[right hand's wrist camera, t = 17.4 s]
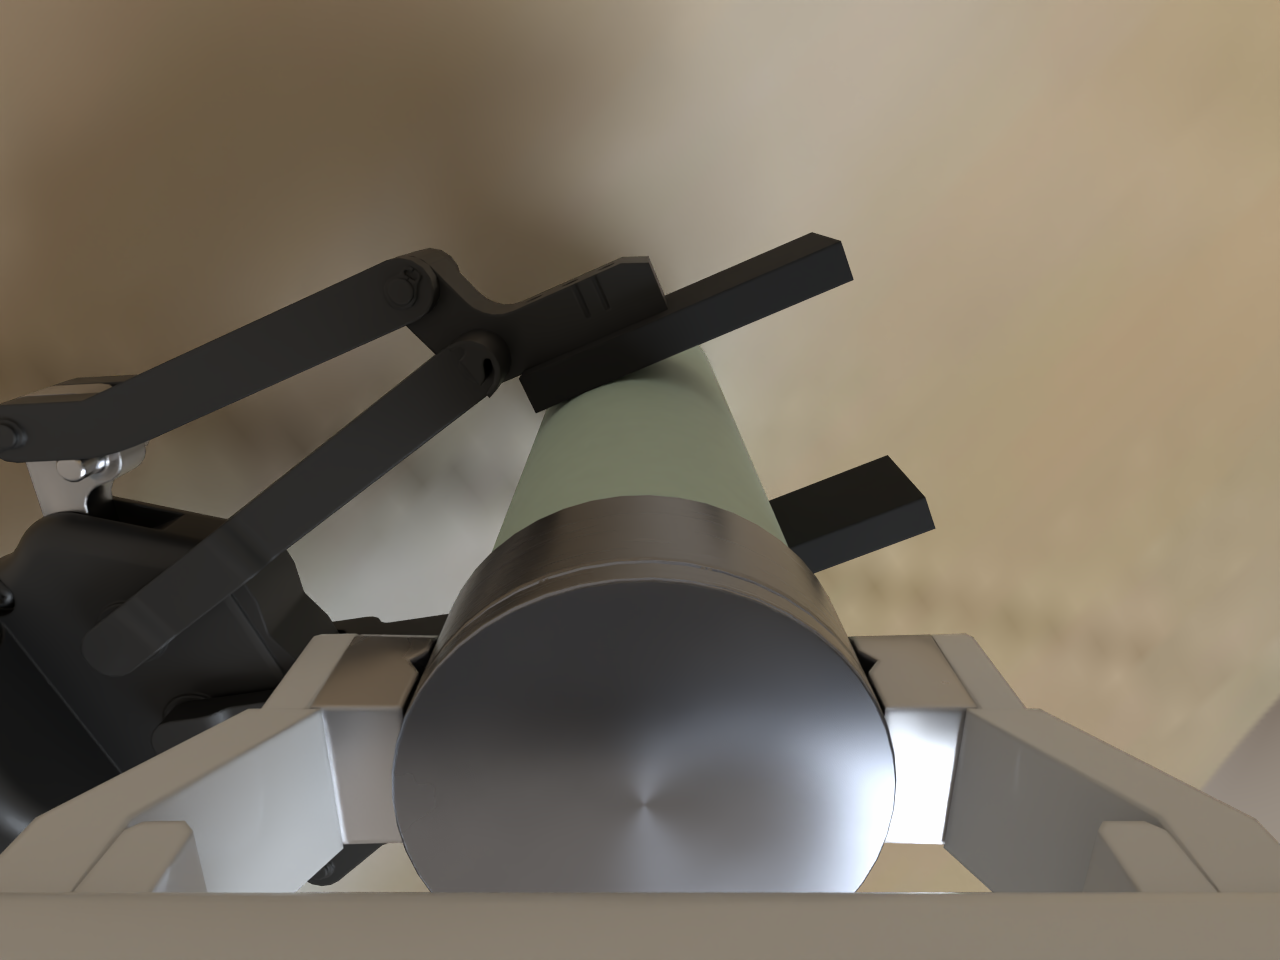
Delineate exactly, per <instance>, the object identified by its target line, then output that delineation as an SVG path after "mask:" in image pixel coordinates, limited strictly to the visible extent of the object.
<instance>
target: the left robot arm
mask: <svg viewBox="0 0 1280 960" xmlns="http://www.w3.org/2000/svg"><path fill="white" fill-rule="evenodd" d="M852 280H854V279H853V276H852V273H851V270H850V267H849V264H848V261H847V258H846V255H845V252H844V249H843V246H842V243H841V241H839V240H836V239H833V238H829V237H826V236H823V235H819V234H816V233H813V232H811V233H809V234H807V235H805V236H802V237H800V238H798V239H795V240H793V241H791V242H788V243H786V244H784V245H781V246H779V247H777V248H774V249H772V250H770V251H767V252H765V253H763V254H761V255H758V256H756V257H754V258H751V259H749V260H747V261H744V262H742V263H740V264H737V265H735V266H733V267H730V268H728V269H726V270H723V271H721V272H719V273H717V274H714V275H712V276H710V277H707V278H705V279H703V280H700V281H698V282H696V283H693V284H691V285H689V286H686V287H684V288H682V289H679V290H677V291H675V292H673V293H670V294H668V295H666V296H665V295H664V293H663V291H662V288H661V286H660V283H659V281H658V278H657V276H656V274H655V271H654V269H653V266H652V264H651V261H650V259H649V256H645V257H622V258H619V259H617V260H615V261H612V262H610V263H608V264H606V265H603V266H601V267H599V268H597V269H594V270H592V271H590V272H588V273H585V274H583V275H581V276H579V277H576V278H574V279H572V280H570V281H567V282H565V283H563V284H560V285H558V286H556V287H554V288H551V289H549V290H547V291H545V292H542V293H540V294H538V295H536V296H533V297H531V298H529V299H527V300H524V301H522V302H519V303H515V304H500V303H495V302H493V301H491V300H489V299H487V298H485V297H484V296H483V295H482V294H480V293H479V292H478V291H477V290H476V289H475V288H474V287H473V286H472V285H471V284H470V283H469V282H468V281H467V280H466V279H465V278H464V277H463V276H462V275H461V274H460V272H459V268H458V265H457V264H456V263H455V261H454V260H453V259H452V257H451V256H450V255H448V254H446V253H445V252H443V251H442V250H438V249H433V248H428V249H424V250H419V251H415V252H412V253H409V254H405V255H402V256H399V257H396V258H393V259H390V260H386V261H384V262H382V263H380V264H378V265H376V266H373V267H371V268H369V269H367V270H365V271H363V272H360V273H358V274H356V275H354V276H352V277H350V278H347V279H345V280H343V281H341V282H339V283H336V284H334V285H332V286H330V287H328V288H326V289H323V290H321V291H319V292H317V293H315V294H313V295H310V296H308V297H306V298H304V299H302V300H300V301H297V302H295V303H293V304H291V305H289V306H287V307H284V308H282V309H280V310H278V311H276V312H274V313H271V314H269V315H267V316H265V317H263V318H261V319H258V320H256V321H254V322H252V323H250V324H248V325H245V326H243V327H241V328H239V329H237V330H235V331H232V332H230V333H228V334H226V335H224V336H221V337H219V338H217V339H215V340H213V341H211V342H208V343H206V344H204V345H202V346H200V347H198V348H195V349H193V350H191V351H189V352H187V353H185V354H182V355H180V356H178V357H176V358H174V359H172V360H169V361H167V362H165V363H163V364H161V365H159V366H156V367H154V368H152V369H150V370H148V371H146V372H143V373H141V374H139V375H123V376H104V377H85V378H76V379H72V380H68V381H65V382H62V383H59V384H57V385H54V386H51V387H47V388H44V389H41V390H38V391H36V392H33V393H30V394H27V395H24V396H21V397H18V398H16V399H13V400H10V401H7V402H4V403H1V404H0V459H2V460H4V461H8V462H16V463H22V462H26V465H27V468H28V471H29V474H30V477H31V480H32V483H33V486H34V489H35V492H36V495H37V498H38V501H39V504H40V507H41V510H42V513H43V516H44V517H43V518H41V519H39V520H38V521H36V522H35V523H34V524H33V525H31V526H30V527H29V528H28V530H27V531H26V532H25V533H24V535H23V537H22V538H21V540H20V542H19V544H18V546H17V548H16V549H15V551H14V552H13V553H11V554H8V555H6V556H4V557H2V558H0V854H1V853H2V852H3V851H4V850H5V849H6V848H7V847H8V846H9V845H10V844H11V843H12V842H13V841H14V840H15V839H16V838H17V837H18V835H19V834H20V833H21V832H22V831H23V830H24V829H25V828H26V827H27V826H28V825H29V824H30V823H31V822H32V821H33V820H34V819H35V818H36V817H38V816H40V815H42V814H44V813H46V812H48V811H49V810H51V809H53V808H55V807H57V806H59V805H61V804H63V803H65V802H67V801H69V800H71V799H73V798H75V797H77V796H79V795H81V794H83V793H85V792H87V791H89V790H90V789H92V788H94V787H96V786H98V785H100V784H102V783H104V782H106V781H108V780H110V779H112V778H114V777H116V776H118V775H120V774H122V773H124V772H126V771H128V770H130V769H131V768H133V767H135V766H137V765H139V764H141V763H143V762H145V761H147V760H149V759H151V758H153V757H155V756H157V755H159V754H161V753H163V752H165V751H167V750H169V749H171V748H172V747H174V746H176V745H178V744H180V743H182V742H184V741H186V740H188V739H190V738H192V737H194V736H196V735H198V734H200V733H202V732H204V731H206V730H208V729H210V728H212V727H214V726H215V725H217V724H219V723H221V722H223V721H225V720H227V719H229V718H231V717H233V716H235V715H237V714H239V713H241V712H243V711H245V710H247V709H261V708H262V706H263V705H264V704H265V702H266V701H267V700H268V698H269V697H270V696H271V694H272V693H273V691H274V690H275V689H276V687H277V686H278V685H279V683H280V682H281V680H282V679H283V678H284V676H285V675H286V674H287V672H288V671H289V669H290V668H291V667H292V665H293V664H294V663H295V661H296V660H297V658H298V657H299V656H300V654H301V653H302V652H303V650H304V649H305V647H306V646H307V645H308V643H309V642H310V641H311V639H312V638H313V637H314V636H317V635H321V634H358V635H361V634H372V635H424V636H440V633H441V631H442V629H443V626H444V624H445V622H446V619H447V617H448V615H449V614H445V615H438V616H431V617H424V618H417V619H411V620H404V621H397V622H390V623H384V622H381V621H380V619H379V618H377V617H362V618H356V619H349V620H342V621H335V622H332V621H331V619H330V618H329V616H328V615H327V614H326V613H325V612H324V611H323V610H322V609H321V608H320V607H319V606H318V605H317V604H316V603H315V602H314V601H313V600H312V599H311V598H309V597H308V596H307V595H306V594H305V592H304V590H303V588H302V584H301V581H300V578H299V575H298V572H297V569H296V566H295V563H294V561H293V559H292V558H291V556H290V555H289V553H288V551H287V550H286V549H288V548H289V547H290V546H292V545H293V544H294V543H295V542H297V541H298V540H299V539H301V538H302V537H303V536H305V535H306V534H307V533H308V532H310V531H311V530H312V529H314V528H315V527H316V526H318V525H319V524H320V523H322V522H323V521H324V520H325V519H327V518H328V517H329V516H331V515H332V514H333V513H335V512H336V511H337V510H338V509H340V508H341V507H342V506H344V505H345V504H346V503H348V502H349V501H350V500H352V499H353V498H354V497H355V496H357V495H358V494H359V493H361V492H362V491H363V490H365V489H366V488H367V487H368V486H370V485H371V484H372V483H374V482H375V481H376V480H378V479H379V478H380V477H382V476H383V475H384V474H385V473H387V472H388V471H389V470H391V469H392V468H393V467H395V466H396V465H397V464H398V463H400V462H401V461H402V460H404V459H405V458H406V457H408V456H409V455H410V454H412V453H413V452H414V451H415V450H417V449H418V448H419V447H421V446H422V445H423V444H425V443H426V442H427V441H428V440H430V439H431V438H432V437H434V436H435V435H436V434H438V433H439V432H440V431H442V430H443V429H444V428H445V427H447V426H448V425H449V424H451V423H452V422H453V421H455V420H456V419H457V418H458V417H460V416H461V415H462V414H464V413H465V412H466V411H468V410H469V409H470V408H472V407H473V406H474V405H475V404H477V403H478V402H479V401H481V400H482V399H483V398H485V397H486V396H488V397H489V398H490V397H491V396H492V395H493V393H494V392H495V391H496V390H497V389H498V387H499V386H500V384H501V383H503V382H505V381H507V380H510V379H512V378H514V377H517V376H519V375H521V374H522V375H521V376H520V378H519V380H520V382H521V384H522V386H523V388H524V390H525V392H526V394H527V396H528V398H529V400H530V402H531V404H532V406H533V408H534V410H535V412H536V413H538V412H540V411H543V410H545V409H547V408H550V407H552V406H554V405H557V404H559V403H562V402H564V401H566V400H569V399H571V398H573V397H576V396H578V395H581V394H583V393H585V392H588V391H590V390H593V389H595V388H597V387H600V386H602V385H604V384H607V383H609V382H612V381H614V380H616V379H619V378H621V377H623V376H626V375H628V374H631V373H633V372H635V371H638V370H640V369H643V368H645V367H647V366H650V365H652V364H654V363H657V362H659V361H662V360H664V359H666V358H669V357H671V356H673V355H676V354H678V353H681V352H683V351H685V350H688V349H690V348H692V347H695V346H697V345H700V344H702V343H704V342H707V341H709V340H712V339H714V338H716V337H719V336H721V335H723V334H726V333H728V332H731V331H733V330H735V329H738V328H740V327H742V326H745V325H747V324H750V323H752V322H754V321H757V320H759V319H762V318H764V317H766V316H769V315H771V314H773V313H776V312H778V311H781V310H783V309H785V308H788V307H790V306H792V305H795V304H797V303H800V302H802V301H804V300H807V299H809V298H812V297H814V296H816V295H819V294H821V293H823V292H826V291H828V290H831V289H833V288H835V287H838V286H840V285H842V284H845V283H847V282H850V281H852ZM404 326H407V327H408V328H409V329H410V330H411V331H412V332H413V333H414V334H415V335H416V336H417V337H418V338H419V339H420V340H421V341H422V342H423V343H424V344H425V345H426V346H427V347H428V348H429V349H430V350H431V351H433V352H434V353H435V355H434V356H433V357H432V358H430V359H429V360H428V361H427V362H425V363H424V364H423V365H422V366H420V367H419V368H418V369H417V370H415V371H414V372H413V373H412V374H410V375H409V376H408V377H407V378H405V379H404V380H403V381H401V382H400V383H399V384H398V385H396V386H395V387H394V388H393V389H391V390H390V391H389V392H388V393H386V394H385V395H384V396H383V397H381V398H380V399H379V400H378V401H376V402H375V403H374V404H373V405H371V406H370V407H369V408H367V409H366V410H365V411H364V412H362V413H361V414H360V415H359V416H357V417H356V418H355V419H354V420H352V421H351V422H350V423H349V424H347V425H346V426H345V427H344V428H342V429H341V430H340V431H339V432H337V433H336V434H335V435H333V436H332V437H331V438H330V439H328V440H327V441H326V442H325V443H323V444H322V445H321V446H320V447H318V448H317V449H316V450H315V451H313V452H312V453H311V454H310V455H308V456H307V457H306V458H305V459H303V460H302V461H301V462H299V463H298V464H297V465H296V466H294V467H293V468H292V469H291V470H289V471H288V472H287V473H286V474H284V475H283V476H282V477H281V478H279V479H278V480H277V481H275V482H274V483H273V484H272V485H270V486H269V487H268V488H267V489H265V490H264V491H263V492H262V493H260V494H259V495H258V496H256V497H255V498H254V499H253V500H251V501H250V502H249V503H248V504H246V505H245V506H244V507H243V508H241V509H240V510H239V511H238V512H236V513H235V514H234V515H233V516H231V517H230V518H229V519H223V518H218V517H213V516H208V515H204V514H199V513H194V512H189V511H184V510H179V509H174V508H169V507H164V506H159V505H154V504H150V503H145V502H140V501H135V500H130V499H125V498H120V497H115V496H112V490H111V489H112V484H113V482H114V480H115V479H116V478H118V477H120V476H122V475H124V474H125V473H127V472H129V471H131V470H132V469H134V468H136V467H137V466H138V465H140V464H141V463H142V461H143V459H144V458H145V453H146V448H145V446H147V445H148V443H149V441H150V440H151V439H153V438H155V437H157V436H160V435H162V434H164V433H166V432H169V431H171V430H173V429H175V428H178V427H180V426H182V425H184V424H187V423H189V422H191V421H193V420H195V419H198V418H200V417H202V416H204V415H207V414H209V413H211V412H213V411H216V410H218V409H220V408H222V407H225V406H227V405H229V404H231V403H234V402H236V401H238V400H240V399H242V398H245V397H247V396H249V395H251V394H254V393H256V392H258V391H260V390H263V389H265V388H267V387H269V386H272V385H274V384H276V383H278V382H281V381H283V380H285V379H287V378H290V377H292V376H294V375H296V374H298V373H301V372H303V371H305V370H307V369H310V368H312V367H314V366H316V365H319V364H321V363H323V362H325V361H328V360H330V359H332V358H334V357H337V356H339V355H341V354H343V353H345V352H348V351H350V350H352V349H354V348H357V347H359V346H361V345H363V344H366V343H368V342H370V341H372V340H375V339H377V338H379V337H381V336H384V335H386V334H388V333H390V332H393V331H395V330H397V329H399V328H401V327H404ZM769 503H770V505H771V508H772V510H773V512H774V515H775V517H776V519H777V522H778V524H779V526H780V529H781V531H782V533H783V536H784V538H785V540H786V543H787V545H788V547H789V548H790V549H791V550H792V551H793V552H794V553H795V554H796V555H797V556H799V557H800V558H801V560H802V561H803V562H804V563H805V564H806V565H807V567H808V568H809V569H810V570H811V571H812V573H813V574H814V573H816V572H819V571H822V570H824V569H827V568H830V567H833V566H835V565H838V564H841V563H843V562H846V561H849V560H851V559H854V558H857V557H860V556H862V555H865V554H868V553H870V552H873V551H876V550H879V549H881V548H884V547H887V546H889V545H892V544H895V543H897V542H900V541H903V540H906V539H908V538H911V537H914V536H916V535H919V534H922V533H925V532H927V531H930V530H933V529H935V526H934V523H933V520H932V517H931V513H930V510H929V507H928V504H927V501H926V498H925V496H924V495H923V494H922V493H921V492H920V491H919V490H918V489H917V487H916V486H915V485H914V484H913V483H912V482H911V481H910V480H909V479H908V477H907V476H906V475H905V474H904V473H903V472H902V471H901V470H900V468H899V467H898V466H897V465H896V464H895V463H894V462H893V461H892V460H891V458H890V457H889V456H888V455H887V456H884V457H882V458H879V459H876V460H874V461H871V462H869V463H866V464H863V465H861V466H858V467H856V468H853V469H850V470H848V471H845V472H843V473H840V474H837V475H835V476H832V477H830V478H827V479H824V480H822V481H819V482H817V483H814V484H811V485H809V486H806V487H804V488H801V489H799V490H796V491H793V492H791V493H788V494H786V495H783V496H780V497H778V498H775V499H773V500H770V501H769ZM384 844H387V843H369V844H343V849H342V850H341V851H340V852H339V853H338V854H336V855H335V856H334V857H333V858H332V859H331V860H330V861H329V862H328V863H327V864H326V865H324V866H323V867H322V868H321V869H320V870H319V871H318V872H317V873H316V874H315V875H313V876H312V877H311V878H310V879H309V880H308V881H307V882H309V883H311V884H314V885H320V886H325V885H331V884H333V883H335V882H337V881H339V880H340V879H341V878H343V877H344V876H345V875H346V874H347V873H349V872H350V871H351V870H352V869H354V868H355V867H356V866H357V865H358V864H360V863H361V862H362V861H363V860H365V859H366V858H367V857H368V856H370V855H371V854H372V853H373V852H374V851H376V850H377V849H378V848H379V847H381V846H382V845H384Z"/></svg>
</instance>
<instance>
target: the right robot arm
mask: <svg viewBox="0 0 1280 960" xmlns="http://www.w3.org/2000/svg"><path fill="white" fill-rule="evenodd" d="M438 638H439V636H424V635H372V634H361V635H358V634H321V635H317V636H314V637H313V638H312V639H311V641H310V642H309V643H308V645H307V646H306V647H305V649H304V650H303V652H302V653H301V654H300V656H299V657H298V658H297V660H296V661H295V663H294V664H293V665H292V667H291V668H290V669H289V671H288V672H287V674H286V675H285V676H284V678H283V679H282V680H281V682H280V683H279V685H278V686H277V687H276V689H275V690H274V691H273V693H272V694H271V696H270V697H269V698H268V700H267V701H266V702H265V704H264V705H263V706H262V708H261V709H247V710H245V711H243V712H241V713H239V714H237V715H235V716H233V717H231V718H229V719H227V720H225V721H223V722H221V723H219V724H217V725H215V726H214V727H212V728H210V729H208V730H206V731H204V732H202V733H200V734H198V735H196V736H194V737H192V738H190V739H188V740H186V741H184V742H182V743H180V744H178V745H176V746H174V747H172V748H171V749H169V750H167V751H165V752H163V753H161V754H159V755H157V756H155V757H153V758H151V759H149V760H147V761H145V762H143V763H141V764H139V765H137V766H135V767H133V768H131V769H130V770H128V771H126V772H124V773H122V774H120V775H118V776H116V777H114V778H112V779H110V780H108V781H106V782H104V783H102V784H100V785H98V786H96V787H94V788H92V789H90V790H89V791H87V792H85V793H83V794H81V795H79V796H77V797H75V798H73V799H71V800H69V801H67V802H65V803H63V804H61V805H59V806H57V807H55V808H53V809H51V810H49V811H48V812H46V813H44V814H42V815H40V816H38V817H36V818H35V819H34V820H33V821H32V822H31V823H30V824H29V825H28V826H27V827H26V828H25V829H24V830H23V831H22V832H21V833H20V834H19V835H18V837H17V838H16V839H15V840H14V841H13V842H12V843H11V844H10V845H9V846H8V847H7V848H6V849H5V850H4V851H3V852H2V853H1V854H0V960H1280V843H1279V842H1278V841H1277V840H1276V839H1275V838H1274V837H1273V836H1272V835H1271V834H1270V833H1269V832H1268V831H1267V830H1266V829H1265V828H1264V827H1263V826H1262V825H1261V824H1260V823H1259V822H1258V821H1257V820H1256V819H1255V818H1253V817H1251V816H1249V815H1247V814H1245V813H1243V812H1241V811H1239V810H1237V809H1235V808H1233V807H1231V806H1230V805H1228V804H1226V803H1224V802H1222V801H1220V800H1218V799H1216V798H1214V797H1212V796H1210V795H1208V794H1206V793H1204V792H1202V791H1200V790H1198V789H1196V788H1194V787H1192V786H1190V785H1188V784H1186V783H1184V782H1182V781H1180V780H1178V779H1177V778H1175V777H1173V776H1171V775H1169V774H1167V773H1165V772H1163V771H1161V770H1159V769H1157V768H1155V767H1153V766H1151V765H1149V764H1147V763H1145V762H1143V761H1141V760H1139V759H1137V758H1135V757H1133V756H1131V755H1129V754H1127V753H1125V752H1124V751H1122V750H1120V749H1118V748H1116V747H1114V746H1112V745H1110V744H1108V743H1106V742H1104V741H1102V740H1100V739H1098V738H1096V737H1094V736H1092V735H1090V734H1088V733H1086V732H1084V731H1082V730H1080V729H1078V728H1076V727H1074V726H1072V725H1070V724H1069V723H1067V722H1065V721H1063V720H1061V719H1059V718H1057V717H1055V716H1053V715H1051V714H1049V713H1047V712H1045V711H1043V710H1041V709H1027V708H1026V707H1025V706H1024V704H1023V703H1022V702H1021V700H1020V699H1019V698H1018V696H1017V695H1016V694H1015V692H1014V691H1013V690H1012V688H1011V687H1010V686H1009V684H1008V683H1007V682H1006V680H1005V679H1004V678H1003V676H1002V675H1001V674H1000V672H999V671H998V670H997V668H996V667H995V666H994V664H993V663H992V662H991V660H990V659H989V658H988V656H987V655H986V654H985V652H984V651H983V650H982V648H981V647H980V646H979V644H978V643H977V642H976V640H975V639H974V637H972V636H970V635H968V634H966V633H961V634H937V635H895V636H854V637H848V639H849V641H850V643H851V645H852V647H853V649H854V652H855V654H856V656H857V658H858V660H859V662H860V664H861V667H862V669H863V671H864V673H865V675H866V677H867V680H868V682H869V684H870V686H871V688H872V690H873V692H874V694H875V696H876V698H877V701H878V703H879V705H880V708H881V710H882V712H883V715H884V717H885V720H886V722H887V724H888V727H889V731H890V735H891V739H892V743H893V748H894V752H895V762H896V775H897V784H896V796H895V807H894V812H893V816H892V820H891V824H890V828H889V832H888V835H887V838H886V840H885V842H884V843H917V844H944V848H945V849H946V850H947V851H948V852H949V853H950V854H951V855H952V856H953V857H955V858H956V859H957V860H958V861H959V862H960V863H961V864H962V865H963V866H964V867H966V868H967V869H968V870H969V871H970V872H971V873H972V874H973V875H974V876H975V877H977V878H978V879H979V880H980V881H981V882H982V883H983V884H984V885H985V886H986V887H988V888H989V889H990V890H991V891H992V892H296V891H297V890H298V889H299V888H300V887H301V886H303V885H304V884H305V883H306V882H307V881H308V880H309V879H310V878H311V877H312V876H313V875H315V874H316V873H317V872H318V871H319V870H320V869H321V868H322V867H323V866H324V865H326V864H327V863H328V862H329V861H330V860H331V859H332V858H333V857H334V856H335V855H336V854H338V853H339V852H340V851H341V850H342V849H343V844H369V843H403V842H402V839H401V836H400V833H399V830H398V827H397V823H396V817H395V812H394V806H393V800H392V765H393V758H394V751H395V745H396V741H397V738H398V735H399V732H400V729H401V725H402V722H403V719H404V716H405V714H406V712H407V709H408V707H409V705H410V702H411V700H412V698H413V696H414V694H415V691H416V689H417V686H418V684H419V682H420V679H421V677H422V675H423V672H424V670H425V668H426V666H427V663H428V661H429V659H430V656H431V654H432V652H433V649H434V647H435V645H436V642H437V640H438Z"/></svg>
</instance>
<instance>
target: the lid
mask: <svg viewBox="0 0 1280 960" xmlns="http://www.w3.org/2000/svg"><path fill="white" fill-rule="evenodd" d="M896 784H897V775H896V762H895V752H894V748H893V743H892V739H891V735H890V731H889V727H888V724H887V722H886V720H885V717H884V715H883V712H882V710H881V708H880V705H879V703H878V701H877V698H876V696H875V694H874V692H873V690H872V688H871V686H870V684H869V682H868V680H867V677H866V675H865V673H864V671H863V669H862V667H861V664H860V662H859V660H858V658H857V656H856V654H855V652H854V649H853V647H852V645H851V643H850V641H849V639H848V637H847V635H846V632H845V630H844V628H843V626H842V624H841V622H840V620H839V618H838V615H837V613H836V611H835V609H834V607H833V605H832V603H831V601H830V598H829V597H828V595H827V594H826V592H825V590H824V589H823V587H822V585H821V584H820V582H819V581H818V579H817V577H816V576H815V575H814V574H813V573H812V571H811V570H810V569H809V568H808V567H807V565H806V564H805V563H804V562H803V561H802V560H801V558H800V557H799V556H797V555H796V554H795V553H794V552H793V551H792V550H791V549H790V548H789V547H787V546H786V545H785V544H784V543H783V542H782V541H781V540H779V539H778V538H776V537H775V536H773V535H772V534H770V533H769V532H767V531H766V530H765V529H763V528H762V527H760V526H759V525H757V524H755V523H753V522H751V521H749V520H747V519H745V518H743V517H741V516H739V515H737V514H735V513H732V512H730V511H727V510H724V509H721V508H718V507H715V506H712V505H709V504H706V503H702V502H697V501H693V500H688V499H683V498H678V497H667V496H655V495H636V496H617V497H611V498H605V499H599V500H593V501H589V502H585V503H582V504H578V505H575V506H571V507H568V508H565V509H562V510H560V511H557V512H555V513H553V514H550V515H548V516H546V517H544V518H541V519H539V520H537V521H535V522H534V523H532V524H530V525H529V526H527V527H525V528H524V529H522V530H520V531H519V532H517V533H515V534H514V535H513V536H511V537H510V538H509V539H507V540H506V541H505V542H504V543H502V544H501V545H500V546H499V547H497V548H496V549H495V550H494V551H493V552H492V553H491V554H490V555H489V556H488V557H487V558H486V559H485V560H484V561H483V562H482V563H481V564H480V565H479V566H478V567H477V568H476V570H475V571H474V572H473V574H472V575H471V577H470V578H469V579H468V581H467V582H466V584H465V585H464V586H463V588H462V589H461V591H460V593H459V595H458V597H457V599H456V601H455V603H454V605H453V607H452V609H451V610H450V613H449V615H448V617H447V619H446V622H445V624H444V626H443V629H442V631H441V633H440V636H439V638H438V640H437V642H436V645H435V647H434V649H433V652H432V654H431V656H430V659H429V661H428V663H427V666H426V668H425V670H424V672H423V675H422V677H421V679H420V682H419V684H418V686H417V689H416V691H415V694H414V696H413V698H412V700H411V702H410V705H409V707H408V709H407V712H406V714H405V716H404V719H403V722H402V725H401V729H400V732H399V735H398V738H397V741H396V745H395V751H394V758H393V765H392V800H393V806H394V812H395V817H396V823H397V827H398V830H399V833H400V836H401V839H402V842H403V845H404V847H405V850H406V852H407V854H408V856H409V858H410V860H411V862H412V864H413V866H414V868H415V870H416V872H417V874H418V875H419V877H420V878H421V879H422V881H423V882H424V884H425V885H426V886H427V888H428V889H429V891H430V892H856V891H857V890H858V888H859V887H860V886H861V885H862V883H863V882H864V881H865V879H866V877H867V876H868V874H869V872H870V871H871V869H872V867H873V866H874V864H875V862H876V861H877V859H878V857H879V854H880V852H881V849H882V847H883V845H884V842H885V840H886V838H887V835H888V832H889V828H890V824H891V820H892V816H893V812H894V807H895V796H896Z"/></svg>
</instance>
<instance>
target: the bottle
mask: <svg viewBox="0 0 1280 960" xmlns="http://www.w3.org/2000/svg"><path fill="white" fill-rule="evenodd" d="M636 495H655V496H667V497H678V498H683V499H688V500H693V501H697V502H702V503H706V504H709V505H712V506H715V507H718V508H721V509H724V510H727V511H730V512H732V513H735V514H737V515H739V516H741V517H743V518H745V519H747V520H749V521H751V522H753V523H755V524H757V525H759V526H760V527H762V528H763V529H765V530H766V531H767V532H769V533H770V534H772V535H773V536H775V537H776V538H778V539H779V540H781V541H782V542H783V543H784V544H785V545H786V546H787V547H788V545H787V543H786V540H785V538H784V536H783V533H782V531H781V529H780V526H779V524H778V522H777V519H776V517H775V515H774V512H773V510H772V508H771V505H770V503H769V501H768V498H767V496H766V494H765V491H764V489H763V486H762V484H761V482H760V479H759V477H758V475H757V472H756V470H755V468H754V465H753V463H752V461H751V458H750V456H749V454H748V451H747V449H746V447H745V444H744V442H743V440H742V437H741V435H740V433H739V430H738V428H737V425H736V423H735V421H734V418H733V416H732V414H731V411H730V409H729V407H728V404H727V402H726V400H725V397H724V395H723V393H722V390H721V388H720V386H719V383H718V381H717V379H716V376H715V374H714V371H713V369H712V367H711V364H710V362H709V360H708V359H707V357H706V355H705V353H704V352H703V351H702V349H701V348H700V347H699V345H697V346H695V347H692V348H690V349H688V350H685V351H683V352H681V353H678V354H676V355H673V356H671V357H669V358H666V359H664V360H662V361H659V362H657V363H654V364H652V365H650V366H647V367H645V368H643V369H640V370H638V371H635V372H633V373H631V374H628V375H626V376H623V377H621V378H619V379H616V380H614V381H612V382H609V383H607V384H604V385H602V386H600V387H597V388H595V389H593V390H590V391H588V392H585V393H583V394H581V395H578V396H576V397H573V398H571V399H569V400H566V401H564V402H562V403H559V404H557V405H554V406H552V407H550V408H547V410H546V413H545V415H544V418H543V421H542V423H541V426H540V428H539V431H538V434H537V436H536V439H535V441H534V444H533V447H532V449H531V452H530V454H529V457H528V460H527V462H526V465H525V467H524V470H523V473H522V475H521V478H520V480H519V483H518V486H517V488H516V491H515V493H514V496H513V499H512V501H511V504H510V506H509V509H508V512H507V514H506V517H505V519H504V522H503V525H502V527H501V530H500V532H499V535H498V538H497V540H496V543H495V545H494V548H493V551H494V550H495V549H496V548H497V547H499V546H500V545H501V544H502V543H504V542H505V541H506V540H507V539H509V538H510V537H511V536H513V535H514V534H515V533H517V532H519V531H520V530H522V529H524V528H525V527H527V526H529V525H530V524H532V523H534V522H535V521H537V520H539V519H541V518H544V517H546V516H548V515H550V514H553V513H555V512H557V511H560V510H562V509H565V508H568V507H571V506H575V505H578V504H582V503H585V502H589V501H593V500H599V499H605V498H611V497H617V496H636ZM493 551H492V552H493Z"/></svg>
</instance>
